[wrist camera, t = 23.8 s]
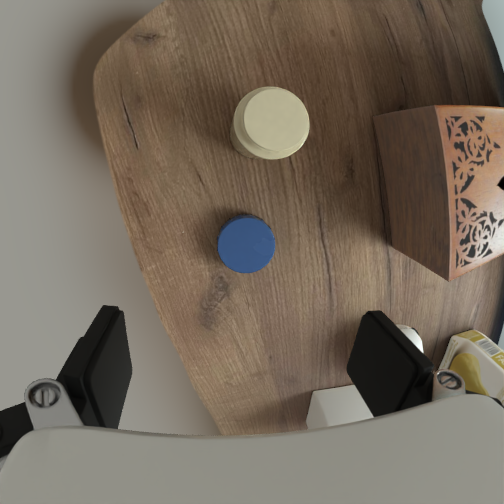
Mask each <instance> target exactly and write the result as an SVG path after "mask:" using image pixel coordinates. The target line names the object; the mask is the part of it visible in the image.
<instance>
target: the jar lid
mask: <svg viewBox="0 0 504 504" xmlns="http://www.w3.org/2000/svg"><path fill="white" fill-rule="evenodd" d="M217 240H218V247H217V251H218V253H219V256H220V258H221V260H222V261H223V263H224V264H225V265H226V266H227V267H228V268H230V269H232V270H234V271H236V272H240V273H252V272H255V271H258V270H260V269H262V268H263V267H264V266H266V265H267V264H268V263H269V261H270V260H271V258H272V257H273V254H274V251H275V238H274V235H273V233H272V231H271V228H270V227H269V226H268V225H267V224H266V223H265V222H264V221H263V220H262V218H261V219H260V218H258V217H256V216H253V215H252V214H251V215H246V214H245V215H241V214H239V215H238V216H235V217H233V218H231V219H229V220H228V221H227V222H226V223H225V224H224V225H223V226H221V230H220V232H219V235H218V236H217Z"/></svg>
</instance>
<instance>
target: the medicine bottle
mask: <svg viewBox="0 0 504 504" xmlns="http://www.w3.org/2000/svg"><path fill="white" fill-rule="evenodd" d="M369 418H374V417H373V415H372V413H371V412H370V410H369V408H368V407H367V405H366V403H365V402H364V400H363V398H362V397H361V395H360V393H359V392H358V390H357V388H356V387H355V385H349V386H344V387H337V388H331V389H324V390H317V391H314V392H313V394H312V398H311V402H310V407H309V411H308V415H307V419H306V424H307V427H308V429H315V428H322V427H328V426H334V425H340V424H345V423H350V422H355V421H360V420H365V419H369Z"/></svg>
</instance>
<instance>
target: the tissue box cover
mask: <svg viewBox="0 0 504 504" xmlns="http://www.w3.org/2000/svg"><path fill="white" fill-rule="evenodd" d="M372 117H373V121H374V126H375V130H376V135H377V140H378V145H379V150H380V155H381V160H382V166H383V172H384V178H385V185H386V192H387V199H388V207H389V216H390V225H391V236H392V247H393V248H395V249H396V250H398V251H400V252H401V253H403V254H405V255H406V256H408V257H410V258H411V259H413V260H415V261H416V262H418V263H420V264H421V265H423V266H425V267H426V268H428V269H430V270H431V271H433V272H434V273H436V274H438V275H439V276H441V277H442V278H444V279H445V280H447V281H448V282H449V281H451V280H453V279H455V278H457V277H459V276H461V275H463V274H465V273H467V272H470V271H472V270H473V269H475V268H477V267H479V266H481V265H483V264H485V263H487V262H489V261H491V260H493V259H495V258H496V257H498V256H500V255H502V254H504V107H493V106H473V105H432V106H426V107H419V108H413V109H408V110H402V111H397V112H391V113H386V114H381V115H377V116H372Z"/></svg>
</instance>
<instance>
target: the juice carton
mask: <svg viewBox="0 0 504 504" xmlns="http://www.w3.org/2000/svg"><path fill="white" fill-rule="evenodd" d="M439 369H449V370H452V371H454V372H456V373H458V374H459V375H460V376H461V377H462V378H463V380H464V382H465V389H466V390H469V391H472V392H476V393H479V394H482V395H486V396H489V397H493V398H497V399H499V400H500V401H501V403H502V405H503V406H504V351H503V350H502V349H501V348H500V347H499V346H497V345H496V344H495V343H494V342H493V341H491V340H490V339H489V338H488V337H486V336H485V335H484V334H482V333H480V332H479V331H477V330H469V331H466V332H463V333H460V334H457V335H453V336H452V337H451V339H450V342H449V344H448V347H447V350H446V353H445V355H444V358H443V360H442V362H441V365H440V367H439Z"/></svg>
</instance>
